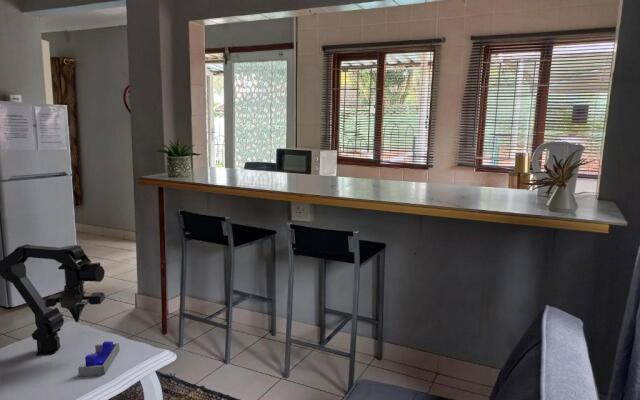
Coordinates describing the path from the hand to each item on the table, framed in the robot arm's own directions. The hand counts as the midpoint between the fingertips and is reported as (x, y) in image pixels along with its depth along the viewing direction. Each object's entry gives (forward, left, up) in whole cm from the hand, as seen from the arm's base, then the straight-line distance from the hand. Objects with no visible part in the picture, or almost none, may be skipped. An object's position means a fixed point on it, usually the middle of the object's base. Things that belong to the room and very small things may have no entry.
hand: (77, 321), depth 169 cm
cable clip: (+10, -10, -12) cm, 19 cm away
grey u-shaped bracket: (+10, -9, -12) cm, 18 cm away
